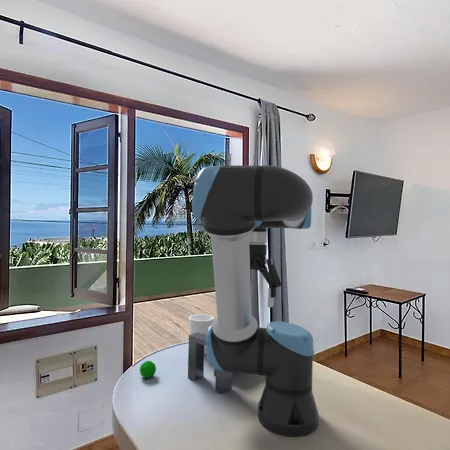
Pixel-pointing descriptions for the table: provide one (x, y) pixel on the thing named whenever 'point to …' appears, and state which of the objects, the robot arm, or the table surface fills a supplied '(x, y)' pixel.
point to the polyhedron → (147, 369)
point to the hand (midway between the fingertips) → (254, 303)
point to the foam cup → (200, 324)
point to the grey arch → (197, 364)
